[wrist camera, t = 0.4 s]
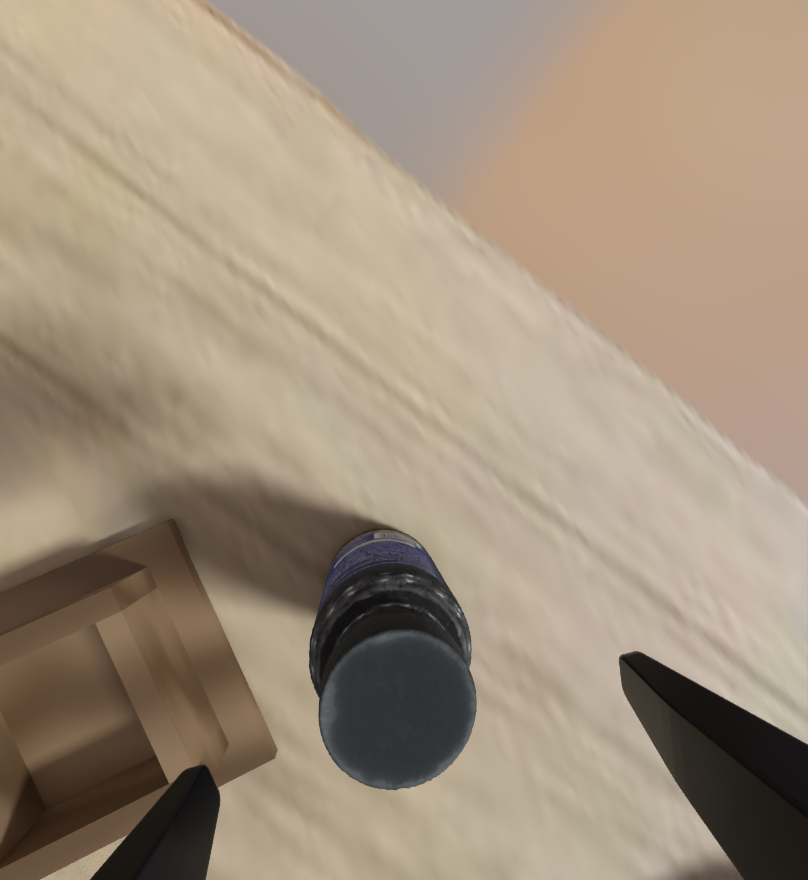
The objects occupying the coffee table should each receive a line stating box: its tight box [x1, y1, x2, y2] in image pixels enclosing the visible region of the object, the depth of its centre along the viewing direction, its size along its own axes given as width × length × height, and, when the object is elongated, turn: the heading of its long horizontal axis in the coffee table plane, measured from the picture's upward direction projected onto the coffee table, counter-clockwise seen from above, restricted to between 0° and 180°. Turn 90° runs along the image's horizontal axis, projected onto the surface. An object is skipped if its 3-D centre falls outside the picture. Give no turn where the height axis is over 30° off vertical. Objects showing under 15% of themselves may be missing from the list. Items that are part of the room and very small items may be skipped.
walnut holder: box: [0, 519, 277, 880], centre depth 19 cm, size 14×14×4 cm
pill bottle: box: [309, 529, 477, 790], centre depth 17 cm, size 6×6×11 cm
